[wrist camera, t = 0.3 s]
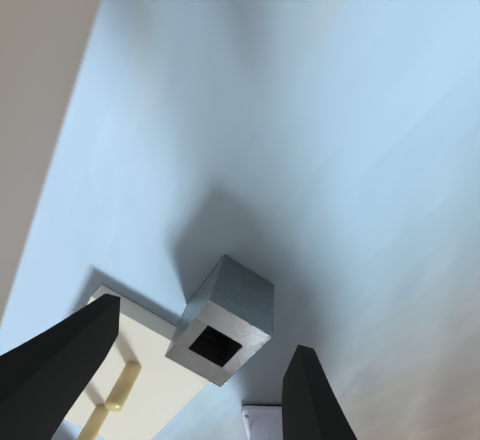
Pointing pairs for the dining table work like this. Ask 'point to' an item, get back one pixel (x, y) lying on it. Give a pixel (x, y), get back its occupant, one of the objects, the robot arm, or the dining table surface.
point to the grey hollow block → (223, 322)
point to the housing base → (134, 380)
